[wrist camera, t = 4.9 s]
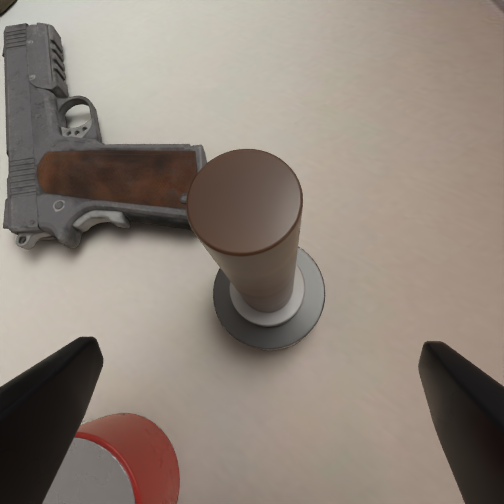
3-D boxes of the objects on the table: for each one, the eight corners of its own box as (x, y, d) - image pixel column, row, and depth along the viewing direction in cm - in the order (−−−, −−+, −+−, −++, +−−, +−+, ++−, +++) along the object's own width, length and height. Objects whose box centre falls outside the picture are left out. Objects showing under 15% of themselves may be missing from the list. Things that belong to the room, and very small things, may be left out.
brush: (331, 337, 20) (430, 302, 6) (232, 359, 20) (122, 370, 6) (305, 244, 21) (338, 62, 8) (215, 265, 22) (102, 120, 8)
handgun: (154, -26, 27) (-11, 22, 27) (219, 210, 20) (-9, 277, 20) (165, 8, 30) (14, 52, 29) (226, 228, 22) (25, 287, 22)
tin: (188, 545, 17) (150, 620, 12) (59, 572, 17) (-28, 656, 13) (171, 401, 19) (132, 416, 14) (56, 426, 20) (-19, 450, 15)
